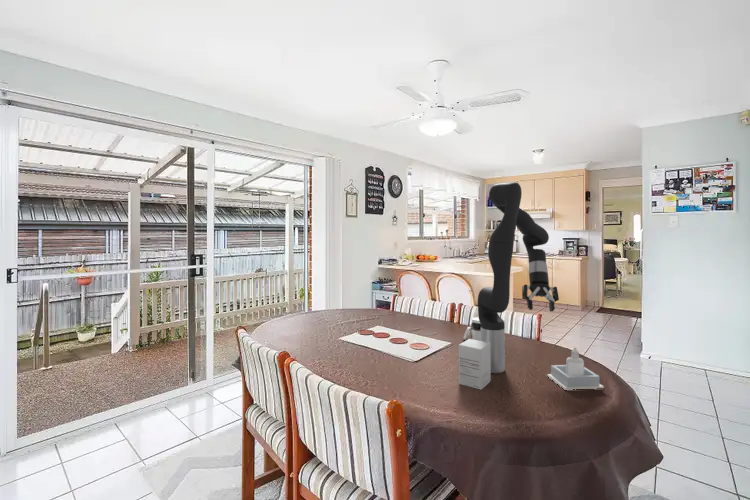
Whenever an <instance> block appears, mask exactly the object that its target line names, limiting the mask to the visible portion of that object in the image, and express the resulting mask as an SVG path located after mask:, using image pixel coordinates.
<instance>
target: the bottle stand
mask: <svg viewBox="0 0 750 500" xmlns="http://www.w3.org/2000/svg"><path fill="white" fill-rule="evenodd" d="M547 376H548V377H549V378H548V377H547ZM546 377H547V378H548V379H550V380H551V381H552V380H553V381H554V382H553V381H552V382H553V383H555V385H557V384H558V385H559V386H560V388H561V387H562V388H563V389H564V390H567V391H577V390H576V389H594V390H598V389H597V388H604V387H605V386H604V385H603V384H601V383H600V375H599V374H597V373H595V372H594V371H592V370H590V369H589V368H587V367H585V366H584V376H568V375H567V374H566V364H554V365H550V373H547V375H546ZM558 385H557V386H558ZM559 386H558V387H559ZM562 388H561V389H562ZM563 389H562V390H563ZM573 389H575V390H573ZM564 390H563V391H564Z"/></svg>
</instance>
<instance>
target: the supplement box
mask: <svg viewBox="0 0 750 500" xmlns="http://www.w3.org/2000/svg"><path fill="white" fill-rule="evenodd" d="M491 374H492V373H491V367H490V343H489V342H483V341H478V340H473V339H471V338H467V339H466V340H465V341H463V342H461V343H459V344H458V384H459V385H463V386H466V387H470V388H473V389H477V390H481V391H482V390H483V389H484V388H485V387H486V386H487V385H488V384H489V383H490V382H491Z"/></svg>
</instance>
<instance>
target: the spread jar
mask: <svg viewBox="0 0 750 500" xmlns="http://www.w3.org/2000/svg"><path fill="white" fill-rule="evenodd" d="M471 318H472V319H471V323H470V326H467V327H466V329H465V332H464V334H463V340H465V341H466V340H468V338H469V336H470V339H473V340H478V341H481V324H480V321H479V317H478V316H477V317H471Z"/></svg>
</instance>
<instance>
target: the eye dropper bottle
mask: <svg viewBox="0 0 750 500" xmlns="http://www.w3.org/2000/svg"><path fill="white" fill-rule="evenodd" d="M570 354H571V356H568V357H567V358H566V360H565V362H566V363H565V365H566V374H567V375H568V376H584V367H585V361H584V360H583V358H581V357H579V356H580V352H579V351H578V350H577V347H576V346H575V347H573V350H571V352H570Z"/></svg>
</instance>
